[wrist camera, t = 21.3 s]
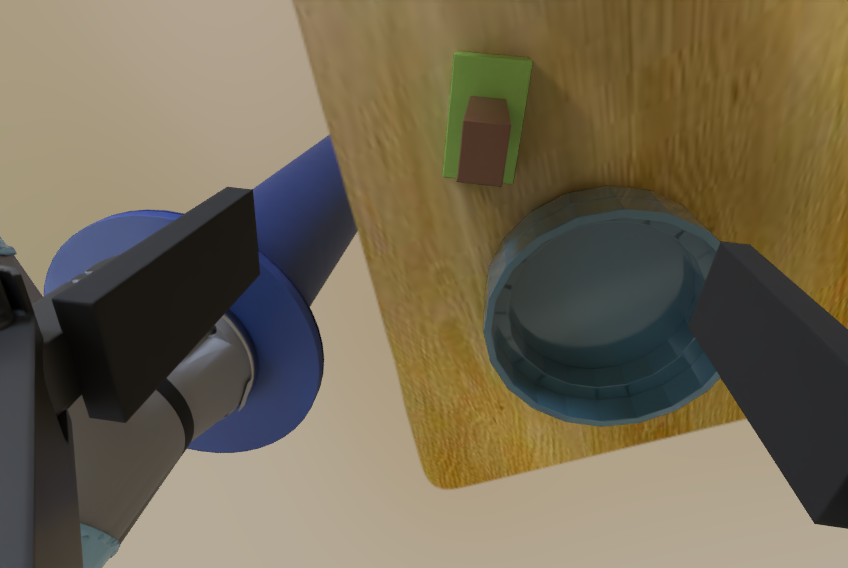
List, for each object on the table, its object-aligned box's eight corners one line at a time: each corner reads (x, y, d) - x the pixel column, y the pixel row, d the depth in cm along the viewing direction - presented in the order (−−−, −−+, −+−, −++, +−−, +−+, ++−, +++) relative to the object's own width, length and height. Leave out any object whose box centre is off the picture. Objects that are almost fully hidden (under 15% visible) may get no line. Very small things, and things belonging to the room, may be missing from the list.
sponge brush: (511, 173, 38) (519, 232, 27) (445, 166, 38) (428, 222, 28) (530, 57, 34) (547, 74, 24) (456, 51, 34) (441, 64, 24)
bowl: (473, 364, 46) (471, 409, 41) (502, 171, 38) (504, 195, 33) (674, 391, 45) (699, 440, 40) (752, 197, 37) (796, 227, 31)
